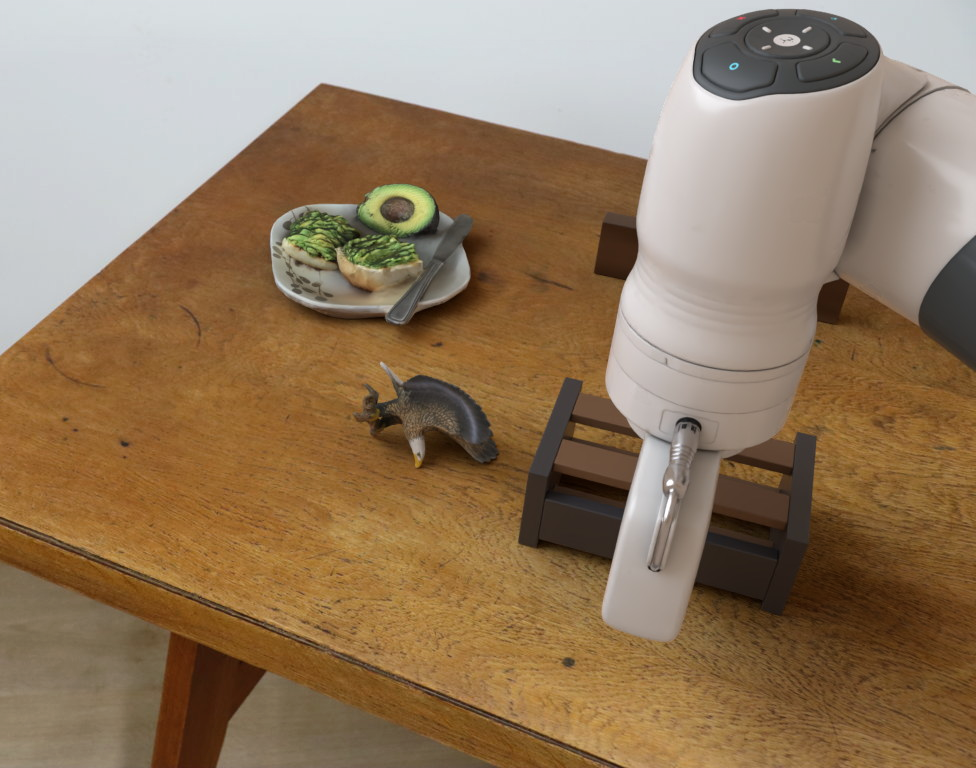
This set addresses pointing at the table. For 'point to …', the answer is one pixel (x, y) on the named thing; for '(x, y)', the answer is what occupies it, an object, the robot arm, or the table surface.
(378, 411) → the eagle figurine
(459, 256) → the salad plate
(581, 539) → the shoe rack
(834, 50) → the robot arm
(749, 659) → the table surface
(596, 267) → the board
